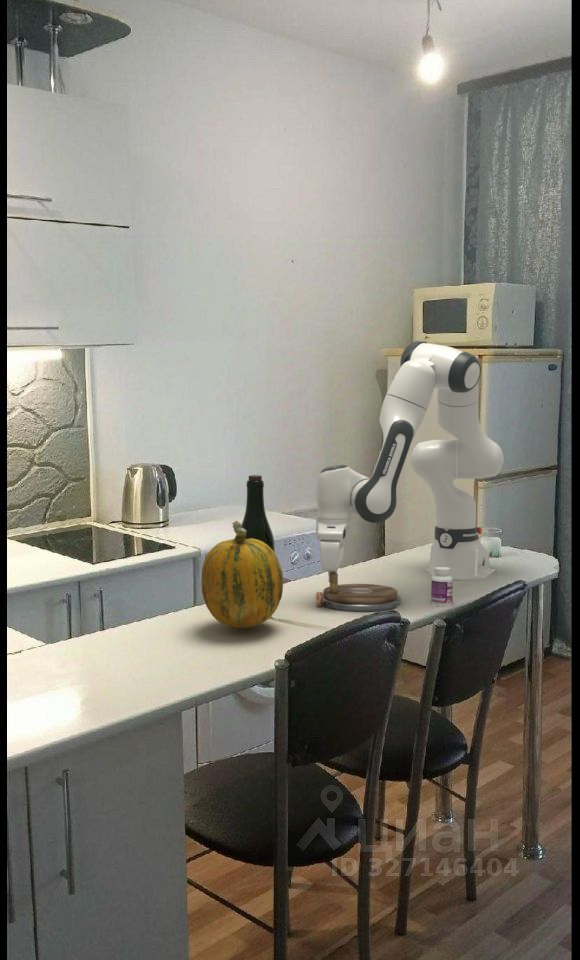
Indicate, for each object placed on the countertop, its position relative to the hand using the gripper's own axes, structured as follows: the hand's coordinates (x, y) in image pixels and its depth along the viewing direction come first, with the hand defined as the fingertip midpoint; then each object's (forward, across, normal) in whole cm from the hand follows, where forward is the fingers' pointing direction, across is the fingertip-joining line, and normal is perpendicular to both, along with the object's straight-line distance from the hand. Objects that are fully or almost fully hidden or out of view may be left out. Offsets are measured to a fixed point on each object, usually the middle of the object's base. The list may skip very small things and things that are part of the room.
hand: (332, 582), depth 238 cm
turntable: (+4, -1, +7) cm, 8 cm away
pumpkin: (+6, +26, -18) cm, 32 cm away
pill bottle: (+5, -1, +28) cm, 28 cm away
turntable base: (+5, -1, +7) cm, 9 cm away
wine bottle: (+6, +5, -19) cm, 21 cm away
